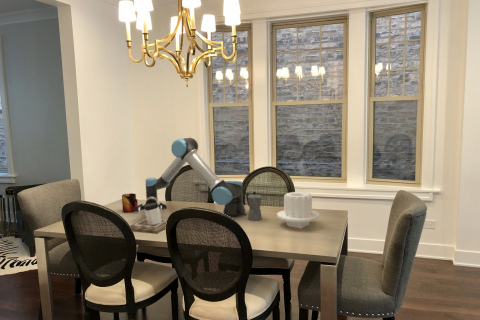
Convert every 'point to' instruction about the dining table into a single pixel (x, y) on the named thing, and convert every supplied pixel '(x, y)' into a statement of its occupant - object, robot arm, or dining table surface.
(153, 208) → the jar
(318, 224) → the dining table surface
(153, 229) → the board
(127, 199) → the mug
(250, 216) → the coffeepot
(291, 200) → the ribbed cylinder on disc
